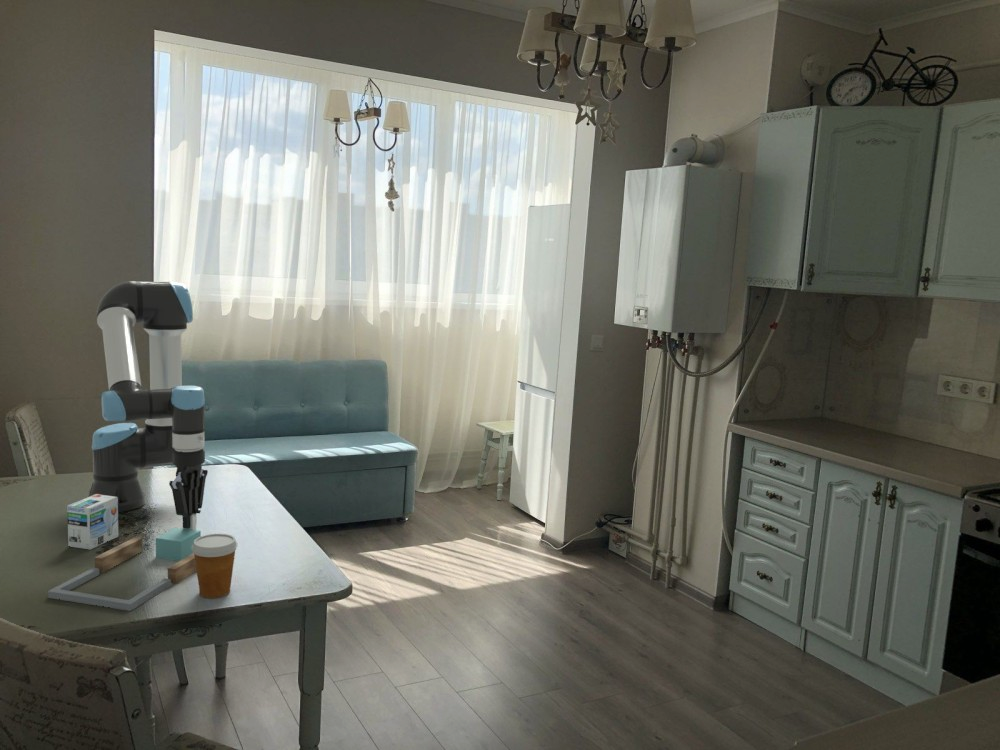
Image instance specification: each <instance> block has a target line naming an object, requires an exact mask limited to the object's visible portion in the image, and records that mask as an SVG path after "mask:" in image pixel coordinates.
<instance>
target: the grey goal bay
mask: <svg viewBox="0 0 1000 750" xmlns="http://www.w3.org/2000/svg"><path fill="white" fill-rule="evenodd" d="M97 576H100V573H99V568H95V567H92V568H90V569H88V570H86V571H84V572H82V573H80V574H78V575H76V576H74V577H72V578H70V579H69V580H67V581H65V582H63V583H61V584H59V585H57V586H55V587H54V588H51V589H49V590H47V598H48V599H54V600H59V599H60V600H59V601H65V602H72V603H76V604H77V603H78V604H79V603H80V604H85V605H90V606H91V605H92V606H96V605H97V606H96V607H102V606H104V607H103V608H108V607H110V609H115V610H120V611H121V610H122V611H128V612H132V611H133V610H135V609H136V608H138V607H139V606H141V605H143V604H144V603H146V602H147V601H149V600H151V599H152V598H154V597H156V595H158V594H160V593H161V592H163V591H165V590H166V589H168V588H169V587H171V586H172V583H171V579H168V577H167V578H163V579H161V580H159V581H158V582H156V583H155V584H153V585H152V586H150V587H148V588H147V589H144V591H141V592H140V593H138V594H137V595H135V596H134V597H132V598H130V599H122V598H117V597H110V596H104V595H99V594H98V595H97V594H91V593H84V592H81V591H80V592H78V591H73V589H75V588H77V587H80V586H81V585H82V584H85V583H86V582H88V581H90V580H92V579H94V578H96V577H97Z"/></svg>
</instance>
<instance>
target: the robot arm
mask: <svg viewBox="0 0 1000 750" xmlns="http://www.w3.org/2000/svg"><path fill="white" fill-rule="evenodd" d="M193 315H194V314H193V304H192V298H191V295H190V292H189V289H188V287H187V285H185V283H182V282H174V281H135V280H129V281H128V280H127V281H123V282H120V283H118V284H115V285H113V286H112V287H111V288H110V289H109V290H107V292H105V293H104V295H103V296H102V298H101V299H100V301H99V302H98V305H97V309H96V324H97V326H98V327H99V328H100V329H101V331H102V339H103V340H102V341H103V349H104V357H105V359H104V360H105V366H106V375H107V385H108V391H103V392H102V394H101V412H102V413H101V414H102V415H101V416H102V418H103V419H104V421H107V422H120V423H114V424H109V425H105V426H102V427H100V428H98V429H97V430H95V431H94V432H93V434H92V444H91V449H92V476H93V477H92V478H93V479H92V484H91V487H90V491H89V492H88V496H87V498H88V497H90V496H93V495H95V494H100V495H106V496H114V497H118V513H122V512H128V511H132V510H135V509H139V508H140V507H142V506H144V505H145V504H146V494H145V492H144V491H143V488H142V484H141V481H140V478H139V469H145V468H157V467H168V466H169V467H170V466H171V467H174V466H175V467H176V472H175V479H174V480H170V481H169V486H170V488H171V490H172V497H173V502H174V509H175V514H176V515H177V516H181V517H182V528H183V529H191V530H197V514H200V513H201V512H202V511H201V509H202V508H203V502H204V494H205V486H206V479H207V476H208V473H209V472H208V470H207V469H203V468H202V465H203V464H204V463H205V462H206V449H205V448H204V447H205V443H206V442H205V439H206V438H205V437H206V436H205V404H206V398H205V391H204V389H203V387H201V386H197V385H183V382H182V381H183V380H182V379H183V377H182V375H183V373H182V371H183V369H182V368H183V367H182V362H183V361H182V357H183V356H182V334H183V333H184V332H186V331H187V329H188V328H187V327H188V324H190V323H192V322H193V320H194V318H193ZM136 323H141V324H142V323H143V324H142V325H143V327H142V329H143V330H144V331H145V332H146V333H147V334H148V335H149V337H148V340H149V341H148V343H149V344H148V345H149V389H142V381H141V373H140V368H139V360H138V352H137V346H136V339H135V332H134V326H135V325H136ZM140 420H141V421H143V420H145V421H144V427H138V425H137V424H136V423H134V422H126V421H140Z"/></svg>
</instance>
